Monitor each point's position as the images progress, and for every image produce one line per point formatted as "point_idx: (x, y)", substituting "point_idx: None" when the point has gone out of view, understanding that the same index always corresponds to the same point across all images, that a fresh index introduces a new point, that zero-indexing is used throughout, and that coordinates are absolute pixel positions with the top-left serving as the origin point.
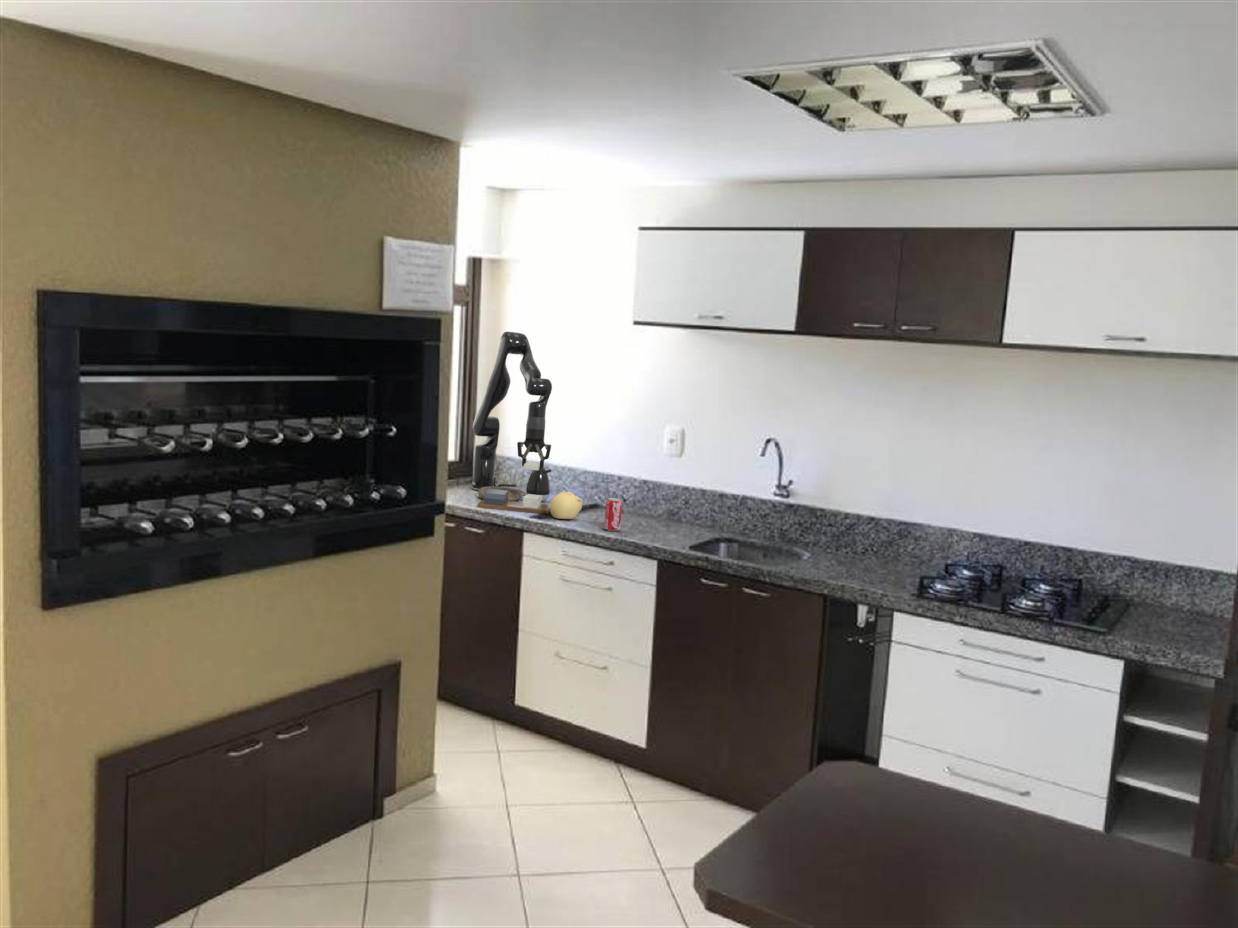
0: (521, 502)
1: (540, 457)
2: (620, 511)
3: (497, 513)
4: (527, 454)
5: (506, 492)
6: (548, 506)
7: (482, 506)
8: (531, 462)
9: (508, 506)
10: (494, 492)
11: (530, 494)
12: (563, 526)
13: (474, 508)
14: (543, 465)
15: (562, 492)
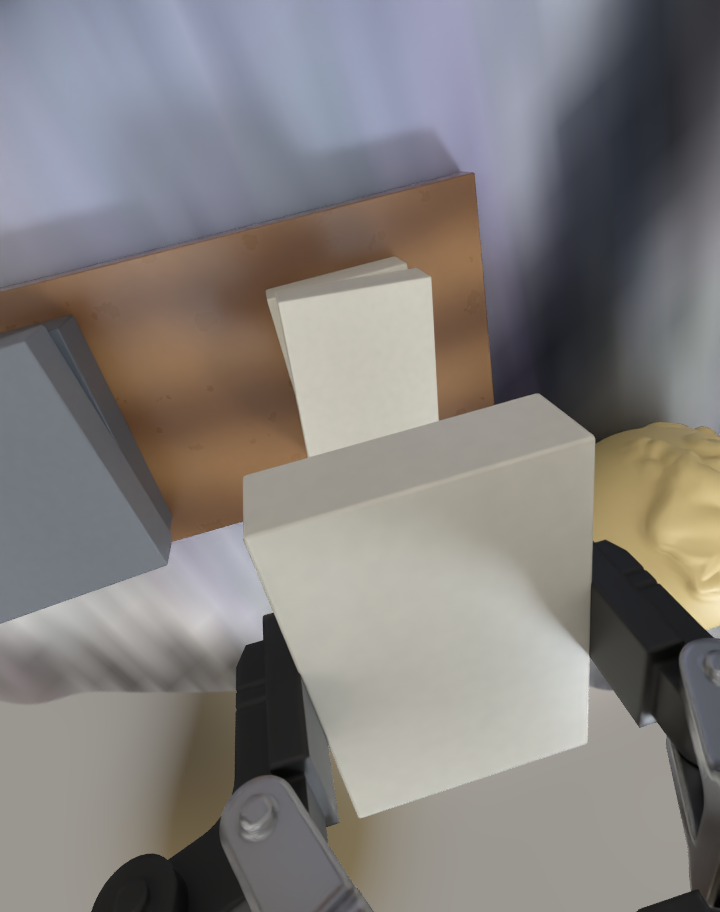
0: (203, 275)
1: (689, 793)
2: None
3: (235, 630)
4: (350, 882)
5: (99, 460)
6: (471, 278)
7: None
8: (380, 580)
9: (226, 522)
10: (29, 549)
11: (307, 315)
12: None
13: (30, 616)
14: (639, 578)
15: (708, 594)
